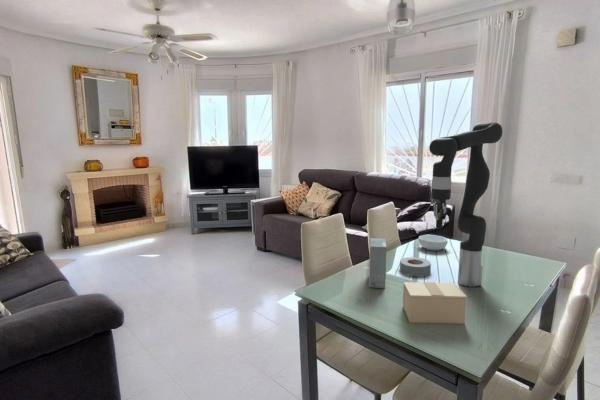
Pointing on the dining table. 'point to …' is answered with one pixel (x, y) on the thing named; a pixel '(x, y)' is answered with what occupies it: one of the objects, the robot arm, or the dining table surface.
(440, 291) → the lid
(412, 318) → the carton
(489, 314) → the dining table surface
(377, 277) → the hard drive box
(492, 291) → the dining table surface
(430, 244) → the cereal bowl
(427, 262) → the tape roll
